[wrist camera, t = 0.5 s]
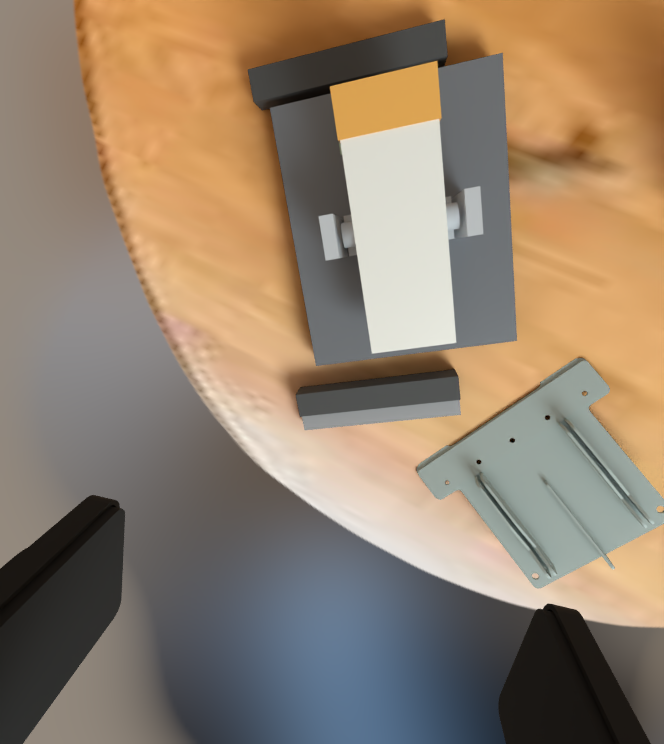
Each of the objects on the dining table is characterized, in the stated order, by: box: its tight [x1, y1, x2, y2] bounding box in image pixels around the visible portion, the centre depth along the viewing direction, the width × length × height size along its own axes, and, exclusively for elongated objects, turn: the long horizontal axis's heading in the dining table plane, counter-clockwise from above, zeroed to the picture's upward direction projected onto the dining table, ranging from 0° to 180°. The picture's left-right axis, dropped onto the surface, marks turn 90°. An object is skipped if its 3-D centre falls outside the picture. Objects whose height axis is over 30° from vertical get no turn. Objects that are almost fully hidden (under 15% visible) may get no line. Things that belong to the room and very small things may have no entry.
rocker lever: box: [330, 61, 460, 354], centre depth 24 cm, size 6×14×2 cm, turn 9°
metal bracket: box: [417, 358, 664, 588], centre depth 33 cm, size 14×6×15 cm
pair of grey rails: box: [248, 19, 461, 430], centre depth 30 cm, size 13×25×2 cm, turn 9°
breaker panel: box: [270, 53, 517, 366], centre depth 26 cm, size 14×17×7 cm
